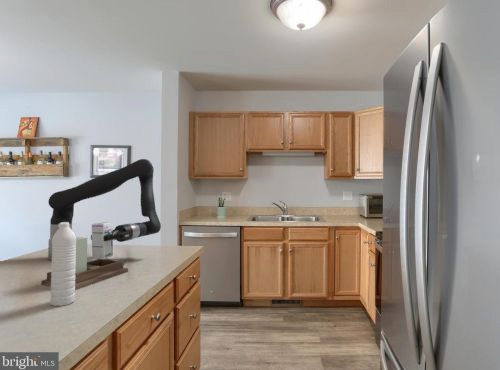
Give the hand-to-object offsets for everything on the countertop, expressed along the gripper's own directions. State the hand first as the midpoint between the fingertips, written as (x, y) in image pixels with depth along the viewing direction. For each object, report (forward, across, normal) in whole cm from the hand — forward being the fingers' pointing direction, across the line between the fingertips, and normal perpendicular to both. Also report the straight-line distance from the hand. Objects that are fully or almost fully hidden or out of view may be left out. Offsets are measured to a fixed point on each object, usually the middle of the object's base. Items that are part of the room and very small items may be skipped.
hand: (97, 238), depth 125 cm
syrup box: (-2, 0, +9) cm, 9 cm away
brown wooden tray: (+5, 0, +15) cm, 16 cm away
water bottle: (+28, +15, +15) cm, 35 cm away
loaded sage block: (+11, 0, +13) cm, 17 cm away
